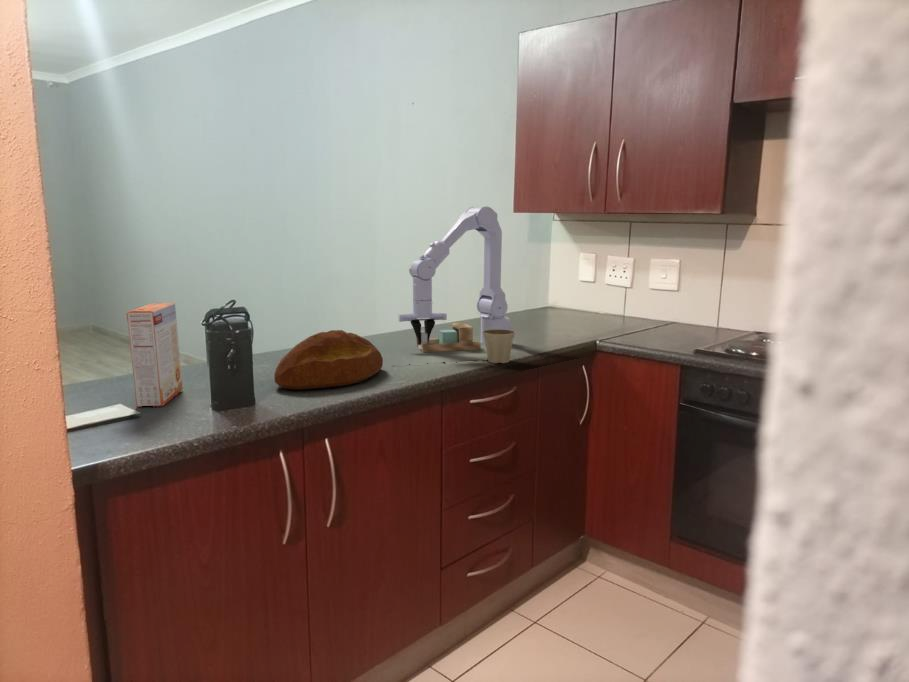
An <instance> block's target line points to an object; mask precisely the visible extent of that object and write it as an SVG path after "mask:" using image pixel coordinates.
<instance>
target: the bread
mask: <svg viewBox="0 0 909 682" xmlns="http://www.w3.org/2000/svg"><path fill="white" fill-rule="evenodd" d="M383 362H384V359H383V356H382V354H381V352H380V350H379V349H378V348H377V347H376V346H375V344H373V343H372V342H371V341H370V340H368V339H366V338H365V337H362V336H360V335H359V334H356V333H353V332H346V331H344V330H342V329H335V330H333V329H331V330H329V331H328V330H327V331H321V332H318V333H316V334H312V335H310V336H308V337H307V338H305V339H303V340H302V341H299V342H298V343H297V344H296V345H295V346H294V347H292V348H291V349H290V350H289V351H288V352H287V353H286V354H285V355H284V356H283V357H282V358H281V359H280V361H279V363H278V364H277V366H276V369H275V371H274V376H273V377H274V383H275V384H276V385H277V386H279V388H281V389H288V390H295V391H299V390H313V389H323V388H324V389H325V388H326V389H327V388H337V386H339V387H342V386H348V385H354V384H359V383H361V382H363V381H365V380H368V379H369V378H371V377H373V376H374V375H376V374H377V373H378V372H380V371H381V369H382V368H383V365H384V364H383Z"/></svg>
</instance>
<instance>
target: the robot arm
mask: <svg viewBox="0 0 909 682" xmlns="http://www.w3.org/2000/svg"><path fill="white" fill-rule="evenodd" d="M471 230H475V231H477V232H478V233H479V234H480V235H481V236H482V237H483V238H484V245H483V246H484V249H483V251H484V252H483V287H482V288H481V290H480V291H479V295H478V300H477V301H476V308H477V311H478V312H479V313H480V314H479V315H480V342H481V344H485V345H486V342H485V338H484V333H483V331H484V330H491V329H505V330H512V324H511V318H509V317H507V316H505V315H506V314H507V311H508V309H509V308H508V303H507V299H506V294H505V291H504V290H503V289H502V287H501V282H502V250H503V249H502V246H503V245H502V244H503V243H502V242H503V240H502V239H503V232H502V228H501V226H500V222H499V221H498V213H497V212H496V211H495V210H494V208H491V206H487V205H486V206H481V207H480V206H479V207H477V206H476V207H474V206H471V207H468V208H467V209H466V210H465V211H464V212H463V213H462V214H460V216H459V218H458V219H457V221H456V222H455V223H454V224H453V226H451V228H450V229H449V230H448V232H447V233H446V235H444V237H443V238H442V239H441V240H436V241H434V242H430V244H429V248H427V250H426V251H425V252H424V253H423V254H420V255H419V259H417V260H414V261H413V262H412V263H411V265H410V268H409V269H408V272H409V274H410V276H411V277H412V308H413V309H412V313H405V314H398V322H399V323H401V322H410V324H411V326H412V328H413V331H414V334H415V336H416V339H417V343H418V345H421V331H422V323H421V321H423V325H424V332H426V333H427V344H428V342H429V339H430V337H431V333H432V332H433V330H434V329H433V328H434V327H435V325H436V321H447V320H448V319H447V313H444V312H433V286H432V283H433V279H432V278H433V277H435V275H436V270H437V268H438V267H439V266H440V265H441V264H442V262H444V261H445V259H446V258H447V257H448V256H450V248H451V247H452V246H453V245H454V244H455V243H456V242H458V240H459V239H461V238H462V236H464V234H466V232H468V231H471Z"/></svg>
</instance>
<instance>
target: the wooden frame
mask: <svg viewBox="0 0 909 682" xmlns="http://www.w3.org/2000/svg"><path fill="white" fill-rule="evenodd" d="M451 330H455V331H456V332H457V342H458V343H439V338H429V342H428V344H422V350H421V349H420V348H419V347H418V343H417V338H416V339H415V341H416V343H415V344H416V345H415V346H416V347H417V348H418V349H419V350H420V351H421V352H422V353H432V352H434V353H435V352H453V351H471V350H473V351H475V350H476V351H477V350H481V345H482V343H481V341H473V339H474V337H473V336H474V332H473V331H474V328H473V326H472V325H469V324H467V323H466V322H452V323H451Z"/></svg>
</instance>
